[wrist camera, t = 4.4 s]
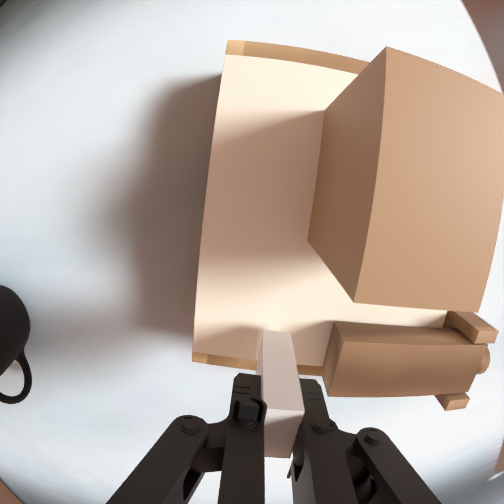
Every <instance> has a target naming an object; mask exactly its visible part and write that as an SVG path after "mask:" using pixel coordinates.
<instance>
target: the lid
mask: <svg viewBox="0 0 504 504" xmlns="http://www.w3.org/2000/svg"><path fill="white" fill-rule="evenodd" d="M503 196H504V94H502V93H500V92H498V91H496V90H494V89H492V88H490V87H488V86H486V85H484V84H482V83H480V82H478V81H476V80H474V79H472V78H469V77H467V76H465V75H463V74H460V73H458V72H456V71H453V70H451V69H449V68H446V67H444V66H441V65H439V64H436V63H434V62H431V61H428V60H426V59H423V58H420V57H417V56H415V55H412V54H409V53H406V52H403V51H400V50H396V49H393V48H390V47H387V46H386V47H385V48H384V49H383V50H382V51H381V52H380V53H379V54H378V55H377V56H376V57H375V58H374V59H373V60H372V61H371V62H370V63H369V64H368V65H367V66H366V68H365V69H364V70H363V71H362V72H361V73H360V74H359V75H358V74H354V73H350V72H345V71H341V70H336V69H331V68H326V67H321V66H316V65H310V64H304V63H298V62H291V61H285V60H277V59H269V58H261V57H251V56H240V55H226V54H225V60H224V66H223V72H222V78H221V85H220V91H219V98H218V104H217V111H216V118H215V125H214V132H213V140H212V147H211V155H210V163H209V171H208V179H207V188H206V197H205V206H204V215H203V225H202V235H201V245H200V256H199V267H198V279H197V292H196V305H195V319H194V335H193V352H198V353H204V354H211V355H218V356H225V357H232V358H240V359H248V360H257V361H258V356H259V350H260V344H261V337H262V331H263V330H271V331H279V332H288V333H291V338H292V343H293V348H294V354H295V359H296V364H297V365H310V366H323V362H324V358H325V355H326V351H327V347H328V343H329V339H330V335H331V330H332V326H333V322H334V321H342V322H354V323H367V324H381V325H396V326H413V327H434V328H442V327H443V324H444V321H445V317H446V314H447V311H461V312H477V313H478V311H479V308H480V305H481V301H482V298H483V294H484V291H485V287H486V283H487V280H488V276H489V272H490V268H491V263H492V259H493V255H494V250H495V245H496V240H497V235H498V229H499V224H500V218H501V211H502V204H503Z"/></svg>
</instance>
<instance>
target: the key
mask: <svg viewBox="0 0 504 504" xmlns="http://www.w3.org/2000/svg"><path fill="white" fill-rule="evenodd" d="M487 346H488V344H487V343H477V344H475V343H474V342H472V341H471V340H470V339H469V338H468V337H467V336H465V335H464V334H463V333H462V332H461V331H460V330H458V329H457V328H434V327H413V326H396V325H381V324H367V323H354V322H342V321H334V322H333V326H332V330H331V335H330V339H329V343H328V347H327V351H326V355H325V358H324V362H323V366H322V370H321V374H322V378H323V381H324V385H325V388H326V392H327V395H328V397H405V396H425V395H439V394H451V393H461V392H468V391H469V389H470V387H471V384H472V382H473V380H474V378H475V376H476V374H482V373H484V372H485V371H486V370H487V368H488V366H489V363H490V353H489V350H488V348H487Z"/></svg>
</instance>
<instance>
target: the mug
mask: <svg viewBox="0 0 504 504" xmlns="http://www.w3.org/2000/svg"><path fill="white" fill-rule="evenodd" d="M29 333H30V321H29V316H28V313H27V310H26V308H25V306H24V304H23V302H22V301H21V299H20V298H19V297H18V296H17V295H16V294H15V293H14V292H13V291H12V290H10V289H9V288H7V287H4V286H0V376H1V375H2V374H3V373H4V372H5V370H6V369H7V368H8V367H9V366H10V365H11V364H12V362H13V361H14V360H16V361H18V362H19V364H20V365H21V367H22V370H23V373H24V388H23V390H22V392H21V393H20V394H19V395H17V396H13V397H11V396H6V395H4V394H2V393H1V392H0V401H1V402H3V403H7V404H15V403H19V402H21V401H22V400H24V399H25V398H26V397H27V395H28V394H29V392H30V389H31V385H32V375H31V370H30V367H29V364H28V362H27V360H26V357H25V354H24V347H25V344H26V342H27V340H28V337H29Z"/></svg>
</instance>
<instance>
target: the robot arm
mask: <svg viewBox="0 0 504 504" xmlns="http://www.w3.org/2000/svg"><path fill="white" fill-rule="evenodd" d="M4 1H5V0H0V6H1V5H2V4H3V2H4ZM292 451H293V461H292V463H291V466H290V469H289V472H288V475H287V478H290V476H291V478H292V491H293V504H441V502H440V501H439V500H438V499H437V497H436V496H435V495H434V494H433V492H432V491H431V490H430V489H429V487H428V486H427V485H426V484H425V482H424V481H423V480H422V479H421V477H420V476H419V475H418V474H417V472H416V471H415V470H414V469H413V467H412V466H411V465H410V464H409V462H408V461H407V460H406V459H405V457H404V456H403V455H402V453H401V452H400V451H399V450H398V448H397V447H396V446H395V445H394V443H393V442H392V441H391V440H390V438H389V437H388V436H387V435H386V434H385V433H384V432H383V431H381V430H379V429H377V428H372V427H370V428H364V429H361V430H360V431H359V432H358V433H357V435H356V434H352V433H347V432H344V431H341V430H339V429H338V427H337V425H336V423H335V422H334V421H332V420H331V419H329V415H328V411H327V407H326V404H325V400H324V396H323V392H322V389H321V386H320V385H319V384H318V382H317V381H316V380H315V379H301V378H299V376H298V370H297V365H296V359H295V354H294V348H293V343H292V338H291V333H288V332H279V331H271V330H263V331H262V337H261V344H260V350H259V356H258V362H257V368H256V375H253V374H244V373H239V374H238V375H237V376H236V377H235V378H234V382H233V389H232V397H231V404H230V412H229V415H228V417H227V418H226V419H225V420H223V421H221V422H218V423H212V424H207V423H206V422H205V421H204V420H203V419H201V418H199V417H197V416H192V415H183V416H180V417H177V418H176V419H175V420H174V421H173V422H172V423H171V424H170V425H169V427H168V428H167V429H166V431H165V432H164V433H163V434H162V436H161V437H160V438H159V439H158V441H157V442H156V443H155V444H154V446H153V447H152V448H151V449H150V451H149V452H148V453H147V454H146V456H145V457H144V458H143V459H142V461H141V462H140V463H139V464H138V465H137V467H136V468H135V469H134V470H133V472H132V473H131V474H130V475H129V476H128V478H127V479H126V480H125V481H124V482H123V484H122V485H121V486H120V487H119V488H118V490H117V491H116V492H115V493H114V494H113V496H112V497H111V498H110V499H109V500H108V502H107V503H106V504H188V502H189V500H190V499H191V497H192V495H193V493H194V492H195V490H196V488H197V486H198V485H199V483H200V481H201V479H202V478H203V476H204V473H205V472H215V471H222V473H221V481H220V488H219V496H218V504H265V477H264V457H276V458H290V456H291V453H292Z"/></svg>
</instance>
